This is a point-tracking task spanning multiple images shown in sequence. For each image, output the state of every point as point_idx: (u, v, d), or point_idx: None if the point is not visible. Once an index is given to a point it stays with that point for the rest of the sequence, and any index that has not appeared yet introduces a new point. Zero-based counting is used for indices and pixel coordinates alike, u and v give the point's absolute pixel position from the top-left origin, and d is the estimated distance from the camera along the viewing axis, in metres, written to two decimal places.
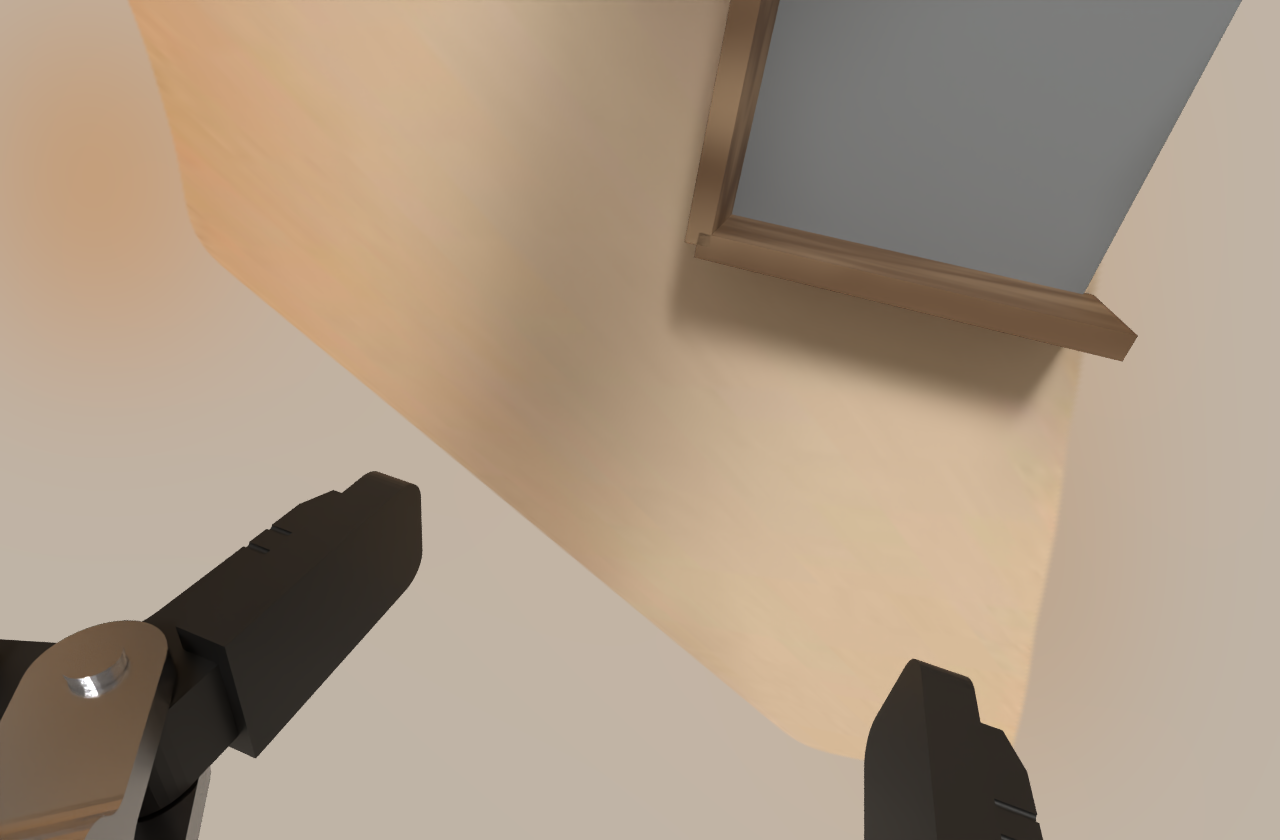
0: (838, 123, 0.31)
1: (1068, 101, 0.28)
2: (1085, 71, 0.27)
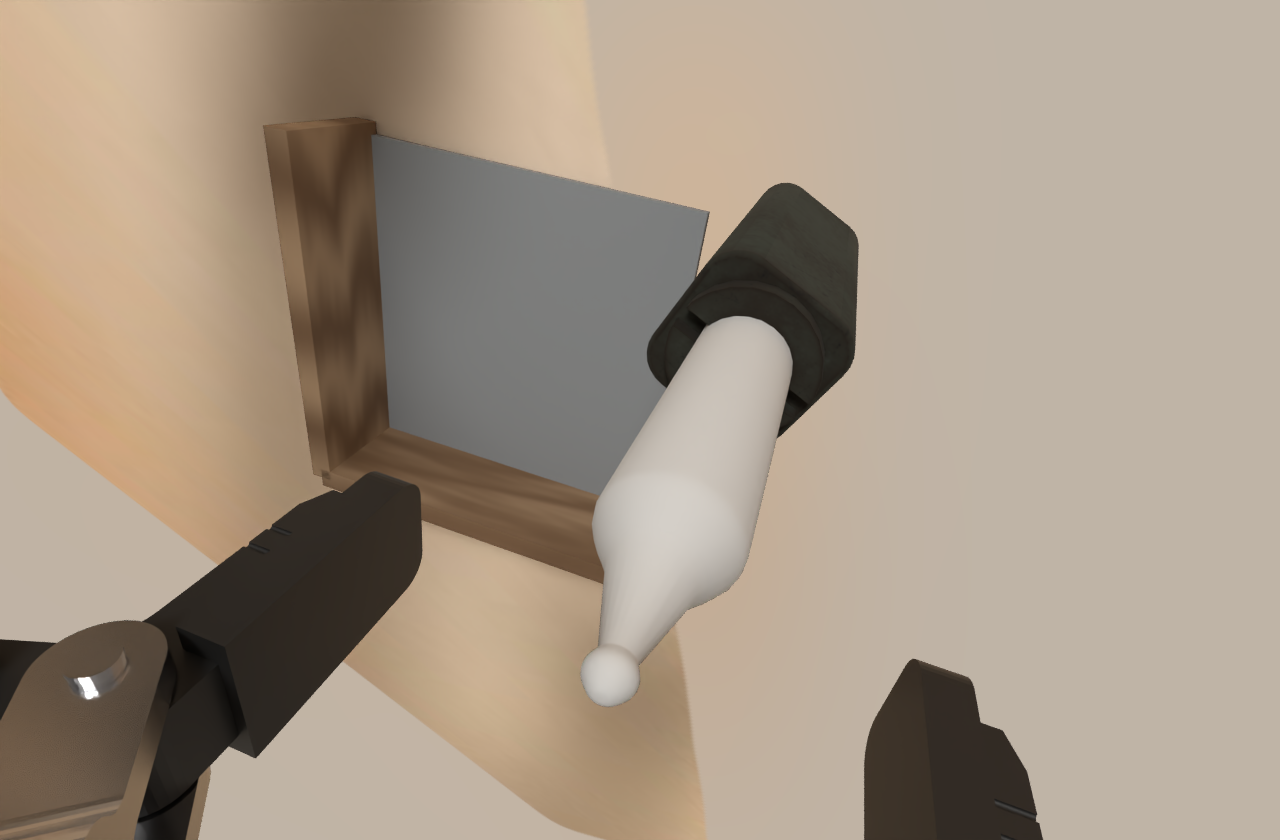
0: (445, 373, 0.38)
1: (594, 378, 0.35)
2: (599, 359, 0.35)
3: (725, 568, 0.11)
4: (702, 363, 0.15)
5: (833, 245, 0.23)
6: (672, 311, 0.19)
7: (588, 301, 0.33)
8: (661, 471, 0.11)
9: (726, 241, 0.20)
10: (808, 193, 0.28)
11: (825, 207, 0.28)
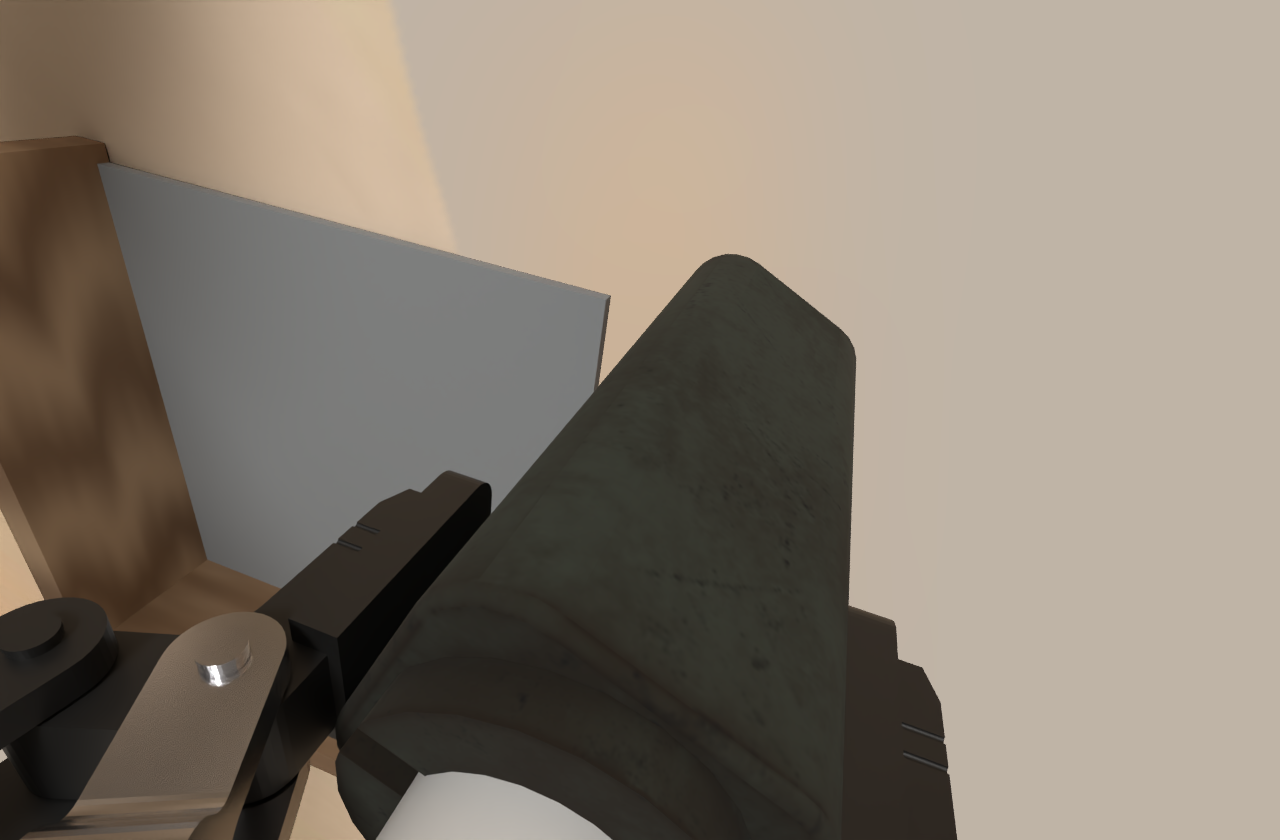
0: (263, 499, 0.27)
1: None
2: None
3: None
4: None
5: (805, 405, 0.12)
6: (363, 684, 0.07)
7: (440, 419, 0.22)
8: None
9: (525, 476, 0.08)
10: None
11: (799, 296, 0.16)
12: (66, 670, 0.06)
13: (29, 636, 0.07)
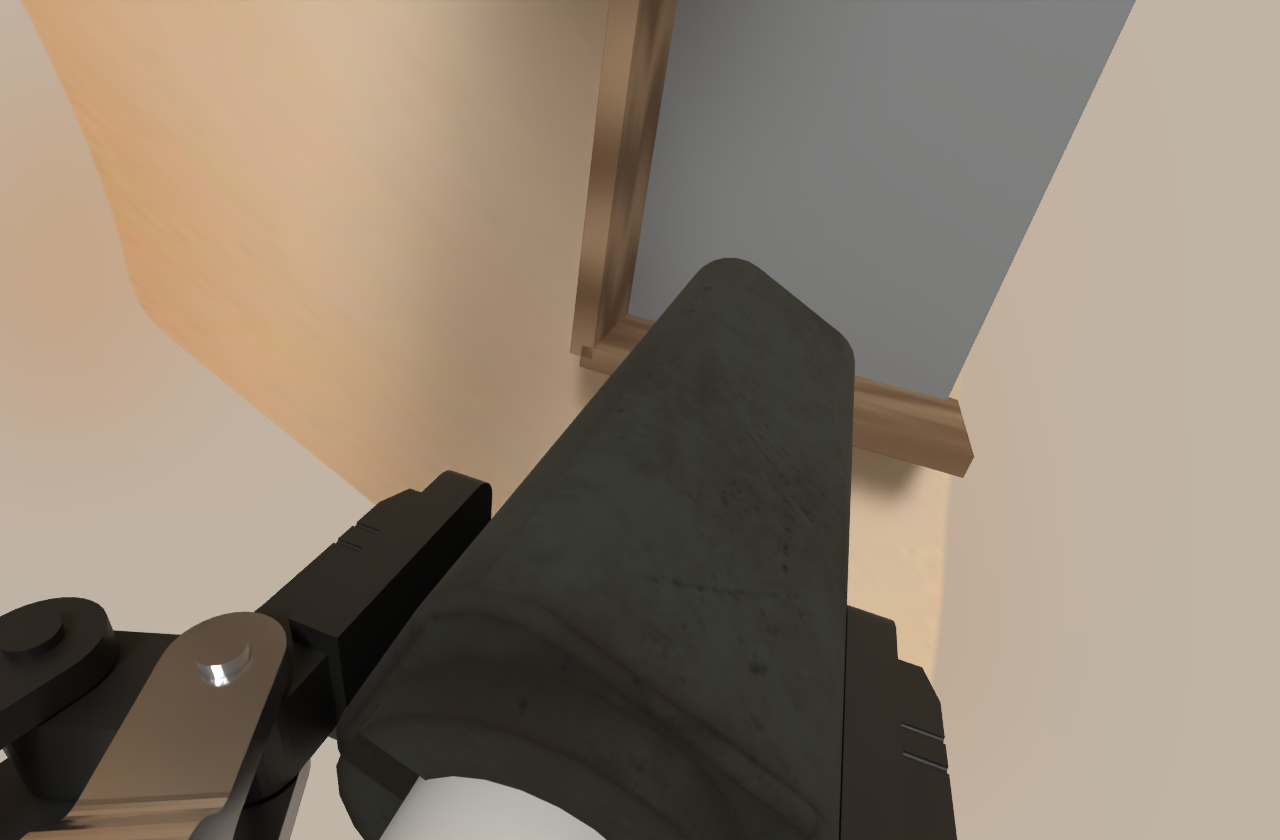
0: (717, 239, 0.33)
1: (919, 231, 0.30)
2: (932, 207, 0.29)
3: None
4: None
5: (804, 409, 0.12)
6: (364, 688, 0.07)
7: (936, 130, 0.28)
8: None
9: (525, 482, 0.08)
10: (769, 276, 0.16)
11: (798, 300, 0.16)
12: (66, 670, 0.06)
13: (29, 635, 0.07)
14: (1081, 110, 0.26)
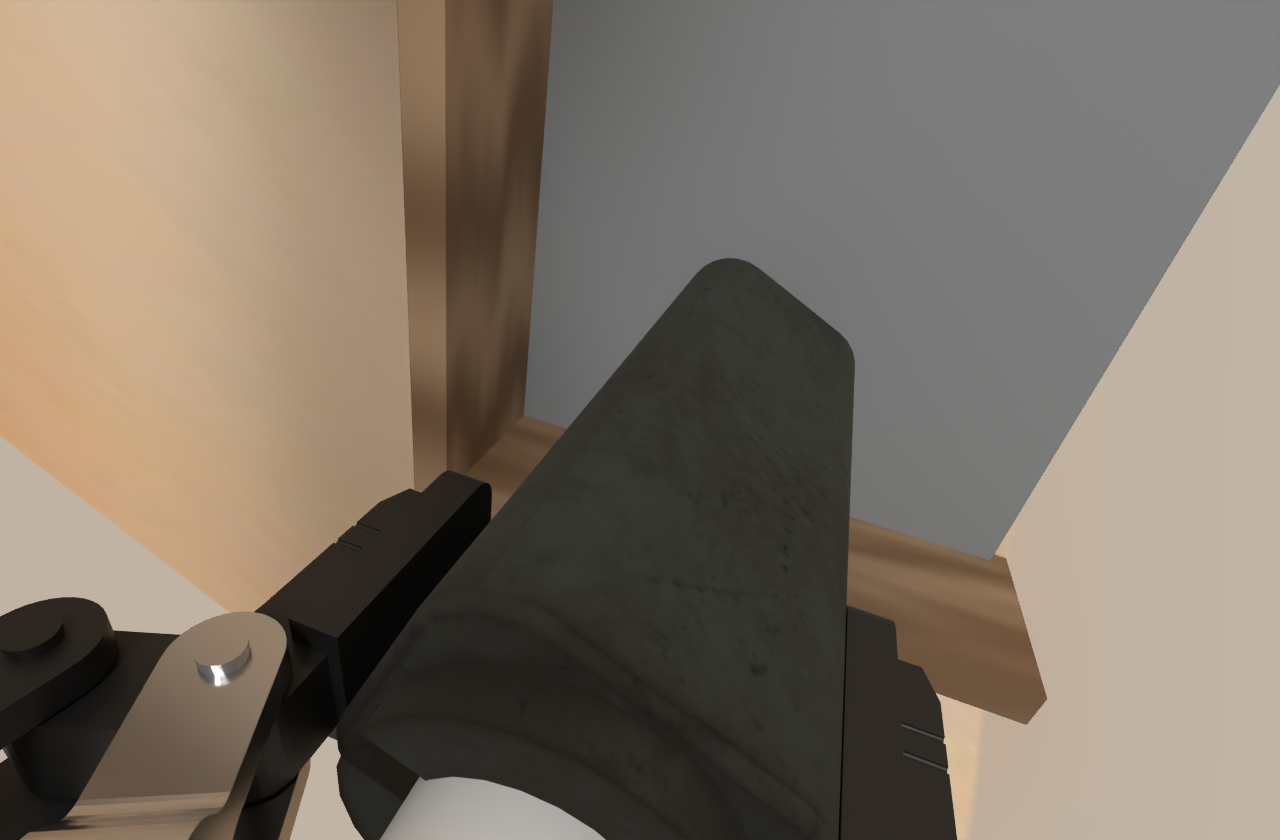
0: (642, 319, 0.22)
1: (954, 319, 0.19)
2: (976, 282, 0.18)
3: None
4: None
5: (803, 409, 0.12)
6: (364, 689, 0.07)
7: (987, 160, 0.17)
8: None
9: (526, 482, 0.08)
10: None
11: (798, 300, 0.16)
12: (66, 670, 0.06)
13: (29, 636, 0.07)
14: (1248, 129, 0.15)
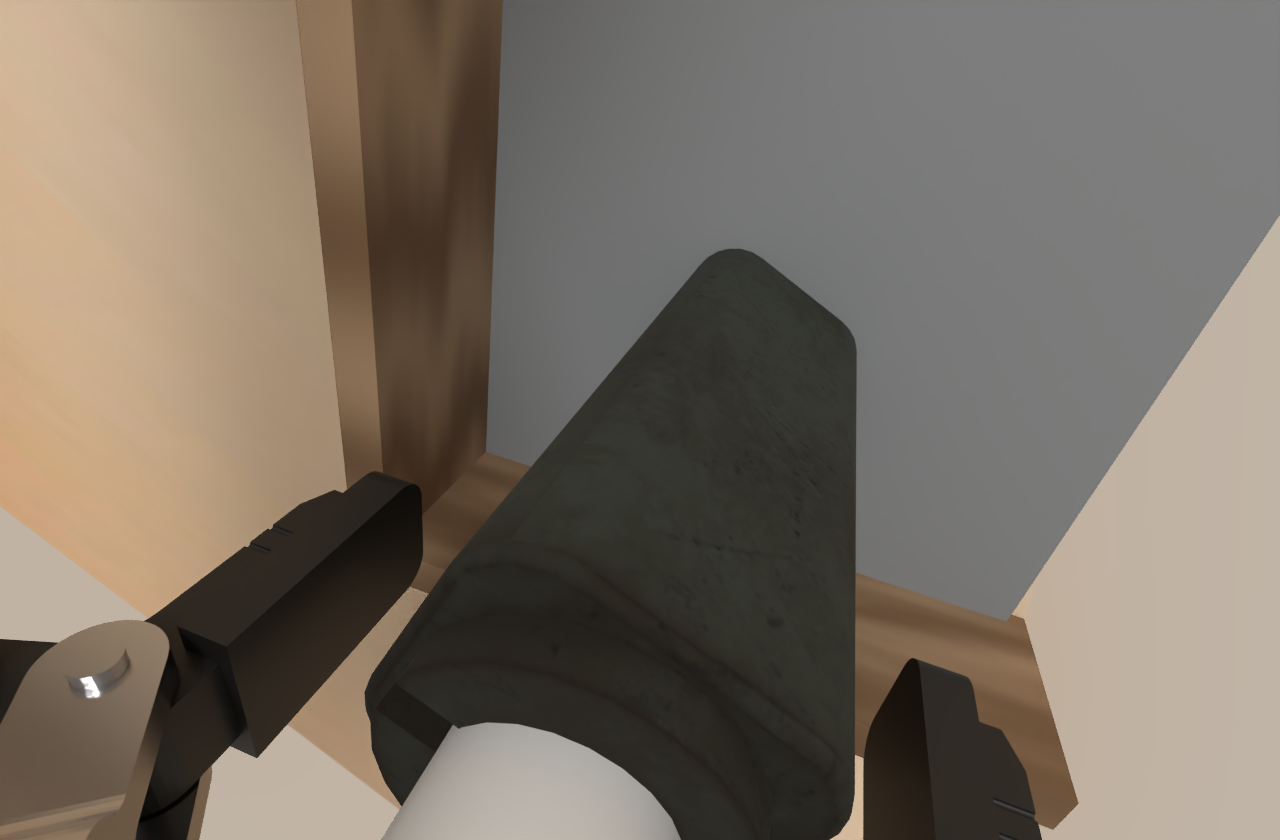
0: (613, 349, 0.19)
1: (968, 355, 0.16)
2: (994, 314, 0.16)
3: None
4: None
5: (809, 390, 0.12)
6: (395, 647, 0.07)
7: (1009, 173, 0.14)
8: None
9: (547, 450, 0.08)
10: (772, 266, 0.17)
11: (801, 289, 0.17)
12: None
13: None
14: None
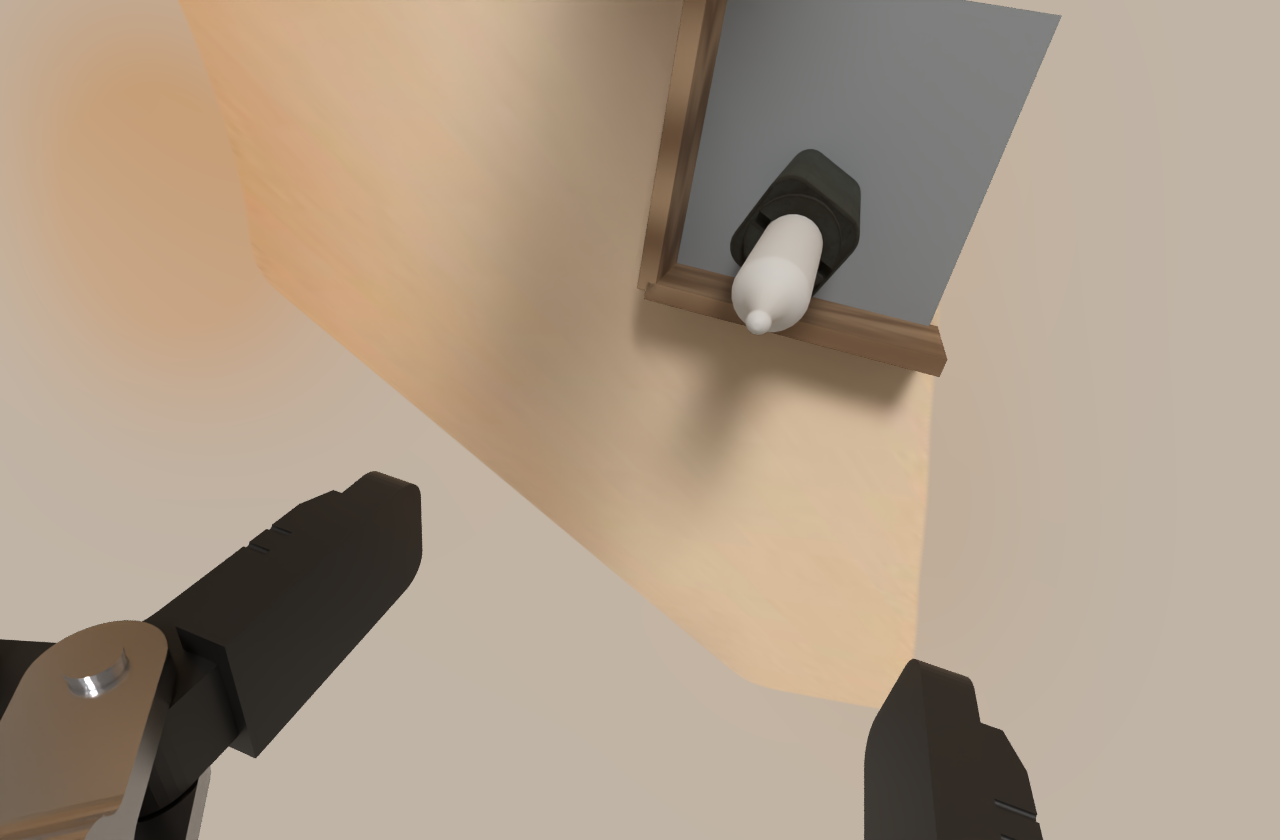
0: (750, 200, 0.43)
1: (906, 192, 0.40)
2: (916, 172, 0.39)
3: (800, 300, 0.23)
4: (775, 230, 0.27)
5: (844, 185, 0.36)
6: (748, 215, 0.31)
7: (919, 114, 0.38)
8: (769, 256, 0.23)
9: (779, 175, 0.32)
10: (825, 156, 0.40)
11: (837, 166, 0.40)
12: None
13: None
14: (1024, 98, 0.36)
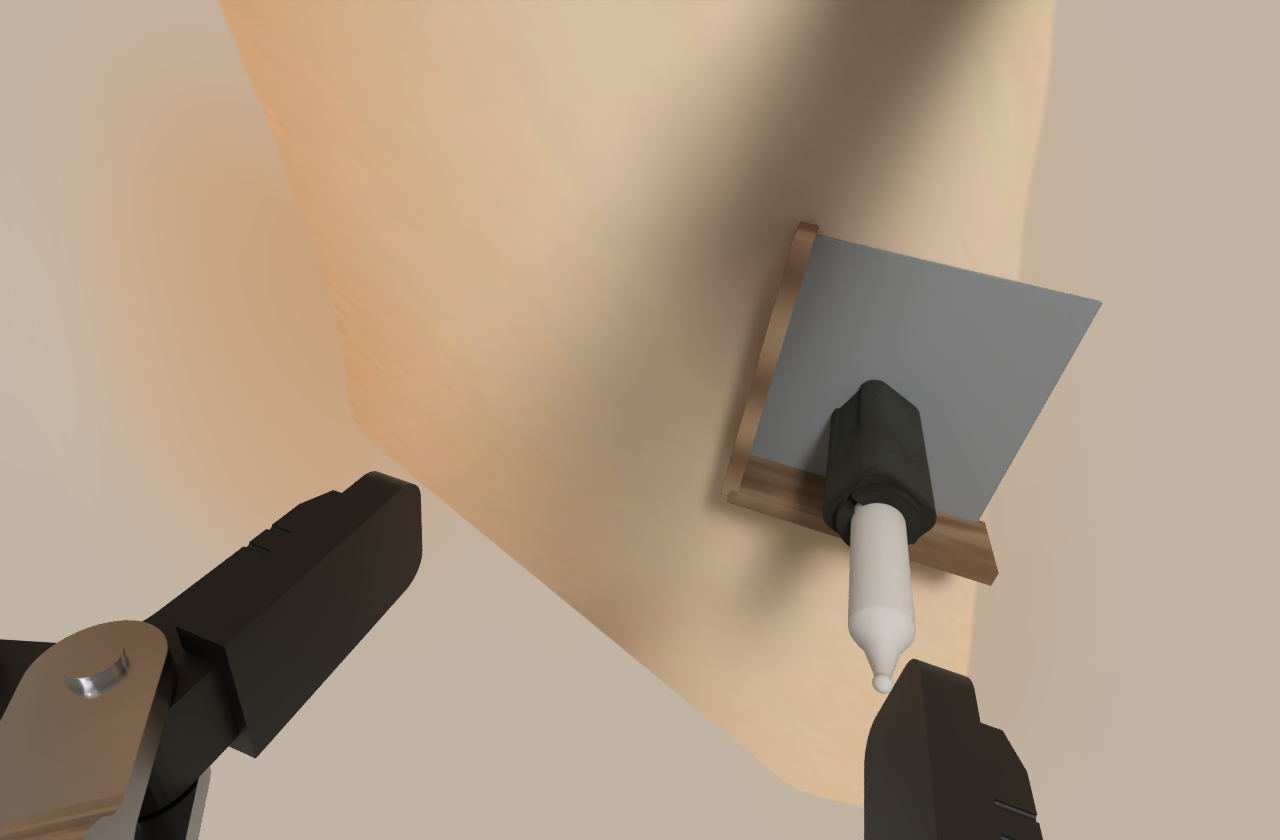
0: (819, 413, 0.48)
1: (961, 419, 0.45)
2: (970, 406, 0.45)
3: (908, 642, 0.28)
4: (874, 540, 0.33)
5: (912, 436, 0.41)
6: (840, 494, 0.36)
7: (974, 362, 0.43)
8: (883, 605, 0.28)
9: (865, 454, 0.37)
10: (889, 386, 0.46)
11: None
12: None
13: None
14: (1068, 360, 0.41)
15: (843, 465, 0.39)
